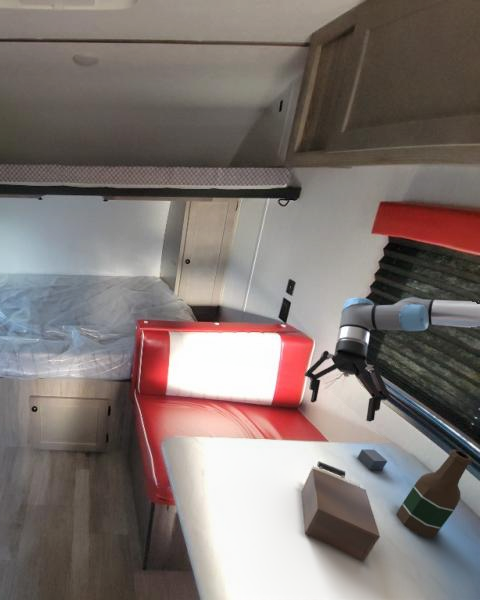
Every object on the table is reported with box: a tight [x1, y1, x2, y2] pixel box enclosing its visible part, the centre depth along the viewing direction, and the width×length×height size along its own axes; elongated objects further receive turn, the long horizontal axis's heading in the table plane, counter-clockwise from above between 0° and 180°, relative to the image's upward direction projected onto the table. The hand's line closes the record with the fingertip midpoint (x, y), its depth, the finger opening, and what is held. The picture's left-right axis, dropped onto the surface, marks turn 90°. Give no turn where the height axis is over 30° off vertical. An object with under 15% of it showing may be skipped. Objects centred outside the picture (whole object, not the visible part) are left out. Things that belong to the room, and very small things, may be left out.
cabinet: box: [300, 467, 381, 563], centre depth 81 cm, size 13×11×9 cm
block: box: [356, 449, 388, 471], centre depth 102 cm, size 4×4×4 cm
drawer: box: [302, 461, 361, 488], centre depth 85 cm, size 17×10×8 cm, turn 151°
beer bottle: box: [395, 448, 473, 540], centre depth 80 cm, size 8×8×24 cm
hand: (340, 410), depth 96 cm, fingers open, 13 cm apart
